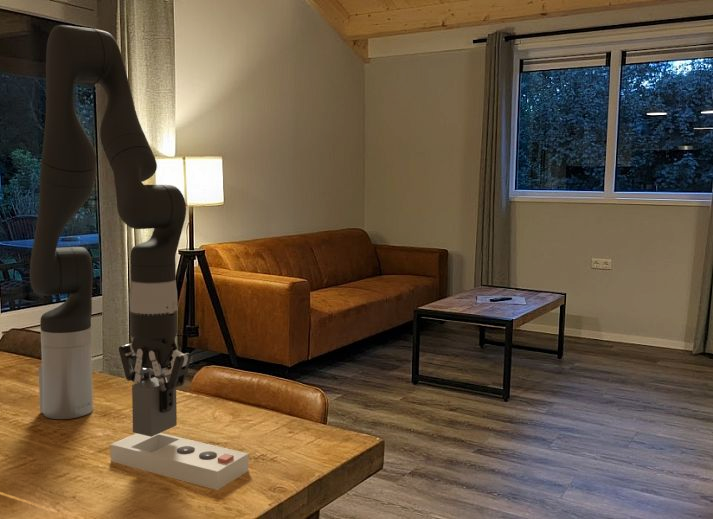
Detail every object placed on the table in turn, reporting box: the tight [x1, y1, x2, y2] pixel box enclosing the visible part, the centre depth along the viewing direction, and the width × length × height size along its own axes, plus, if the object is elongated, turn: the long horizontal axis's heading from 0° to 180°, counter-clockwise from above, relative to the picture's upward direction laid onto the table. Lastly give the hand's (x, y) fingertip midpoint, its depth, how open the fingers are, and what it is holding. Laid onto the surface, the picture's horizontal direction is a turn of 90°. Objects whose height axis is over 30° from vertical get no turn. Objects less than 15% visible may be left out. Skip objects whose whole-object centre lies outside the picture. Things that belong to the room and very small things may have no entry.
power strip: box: [110, 432, 249, 491], centre depth 114 cm, size 23×8×4 cm, turn 64°
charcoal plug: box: [131, 376, 178, 437], centre depth 115 cm, size 4×6×8 cm, turn 154°
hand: (154, 408), depth 115 cm, fingers closed on charcoal plug, 4 cm apart
